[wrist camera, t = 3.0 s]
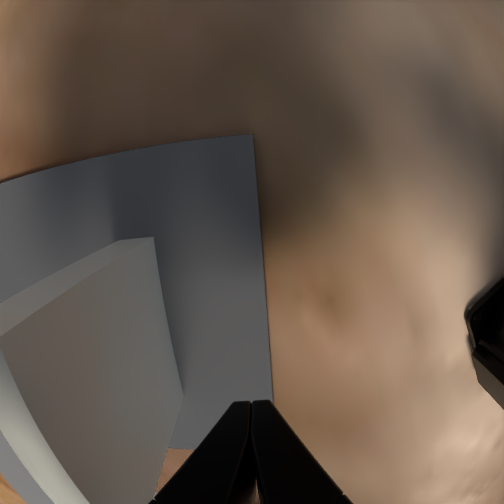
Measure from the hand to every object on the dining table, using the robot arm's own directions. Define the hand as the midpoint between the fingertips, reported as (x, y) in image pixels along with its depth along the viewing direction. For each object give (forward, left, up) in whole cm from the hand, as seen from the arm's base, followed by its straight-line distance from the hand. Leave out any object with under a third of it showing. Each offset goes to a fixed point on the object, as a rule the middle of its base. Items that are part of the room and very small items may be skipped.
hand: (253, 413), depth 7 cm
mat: (+7, -4, -6) cm, 10 cm away
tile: (+3, -2, -5) cm, 7 cm away
